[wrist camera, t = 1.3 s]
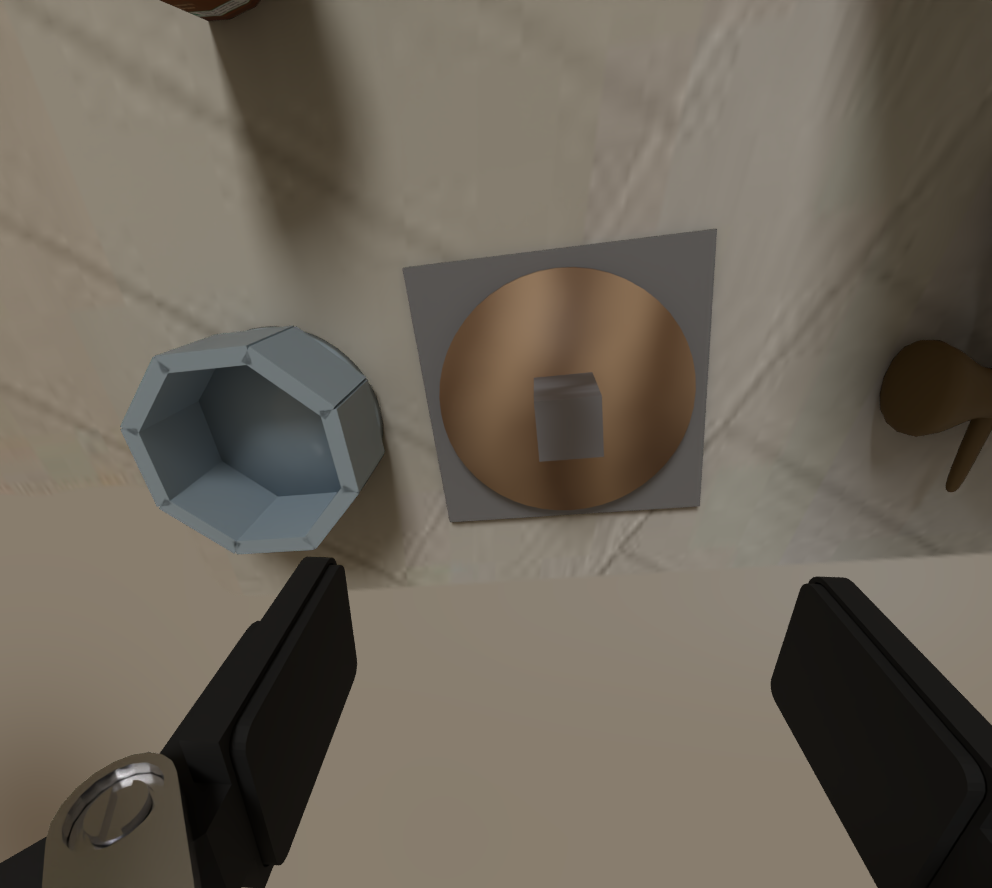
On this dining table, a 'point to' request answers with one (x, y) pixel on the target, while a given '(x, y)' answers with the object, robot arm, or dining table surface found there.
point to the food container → (214, 7)
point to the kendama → (939, 398)
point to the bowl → (255, 437)
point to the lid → (567, 388)
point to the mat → (644, 261)
